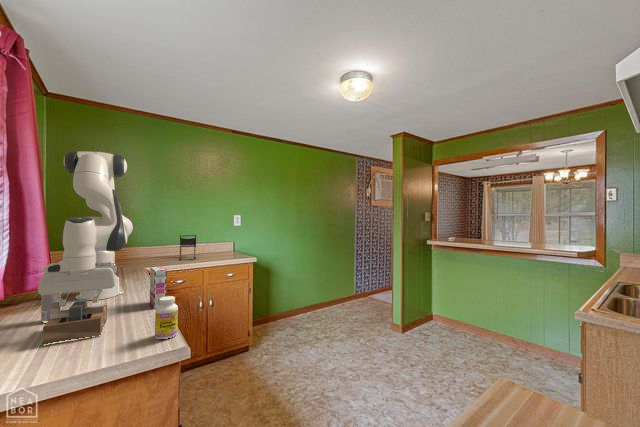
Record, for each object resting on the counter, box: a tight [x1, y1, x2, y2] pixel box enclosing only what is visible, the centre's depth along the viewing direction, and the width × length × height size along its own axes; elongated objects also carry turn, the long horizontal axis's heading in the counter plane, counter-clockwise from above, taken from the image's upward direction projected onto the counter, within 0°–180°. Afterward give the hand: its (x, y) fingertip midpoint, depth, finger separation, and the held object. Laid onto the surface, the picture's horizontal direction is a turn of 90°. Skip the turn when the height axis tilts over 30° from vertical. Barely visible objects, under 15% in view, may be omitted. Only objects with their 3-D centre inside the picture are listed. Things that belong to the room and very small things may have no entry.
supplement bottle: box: [154, 295, 179, 340], centre depth 94 cm, size 7×7×13 cm
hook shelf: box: [42, 302, 108, 345], centre depth 96 cm, size 16×14×11 cm
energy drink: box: [40, 294, 62, 322], centre depth 105 cm, size 5×5×12 cm
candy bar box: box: [149, 266, 168, 309], centre depth 125 cm, size 11×5×16 cm, turn 40°
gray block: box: [68, 299, 88, 322], centre depth 96 cm, size 10×3×8 cm, turn 31°
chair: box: [179, 234, 197, 261], centre depth 249 cm, size 13×17×22 cm
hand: (79, 304), depth 96 cm, fingers open, 7 cm apart
